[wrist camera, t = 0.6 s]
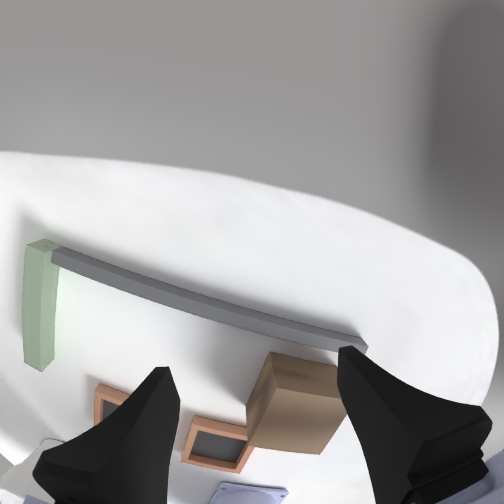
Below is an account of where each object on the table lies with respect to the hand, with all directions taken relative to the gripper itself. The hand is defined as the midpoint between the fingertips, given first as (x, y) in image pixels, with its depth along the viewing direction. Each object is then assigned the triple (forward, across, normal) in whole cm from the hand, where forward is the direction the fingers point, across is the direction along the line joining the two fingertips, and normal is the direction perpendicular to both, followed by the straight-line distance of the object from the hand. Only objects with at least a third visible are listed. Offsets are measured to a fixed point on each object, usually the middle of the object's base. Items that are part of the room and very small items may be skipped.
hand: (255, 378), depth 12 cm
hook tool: (+10, +6, +6) cm, 13 cm away
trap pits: (+9, +9, +14) cm, 19 cm away
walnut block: (+10, -2, +10) cm, 14 cm away
